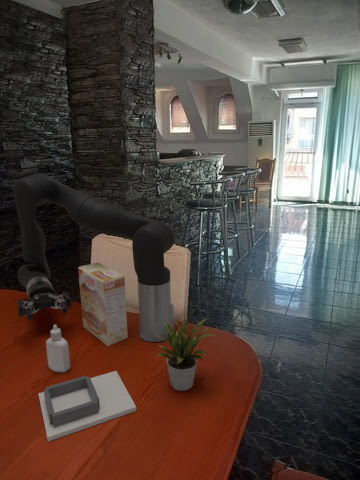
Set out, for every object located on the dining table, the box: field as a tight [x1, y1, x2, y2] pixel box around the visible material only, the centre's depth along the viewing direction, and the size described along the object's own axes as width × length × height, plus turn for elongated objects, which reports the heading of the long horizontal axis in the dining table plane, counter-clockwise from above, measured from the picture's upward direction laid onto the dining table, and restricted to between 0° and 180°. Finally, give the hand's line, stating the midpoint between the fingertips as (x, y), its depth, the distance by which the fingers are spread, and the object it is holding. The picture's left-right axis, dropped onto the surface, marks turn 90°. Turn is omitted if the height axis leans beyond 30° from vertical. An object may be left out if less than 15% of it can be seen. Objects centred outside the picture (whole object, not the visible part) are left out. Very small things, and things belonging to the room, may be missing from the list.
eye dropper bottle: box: [45, 324, 71, 373], centre depth 91 cm, size 4×6×12 cm
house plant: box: [155, 313, 216, 392], centre depth 85 cm, size 14×14×16 cm
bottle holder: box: [38, 370, 137, 442], centre depth 80 cm, size 18×14×4 cm
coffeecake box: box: [77, 262, 129, 347], centre depth 107 cm, size 15×7×20 cm, turn 41°
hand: (48, 314), depth 100 cm, fingers open, 8 cm apart
